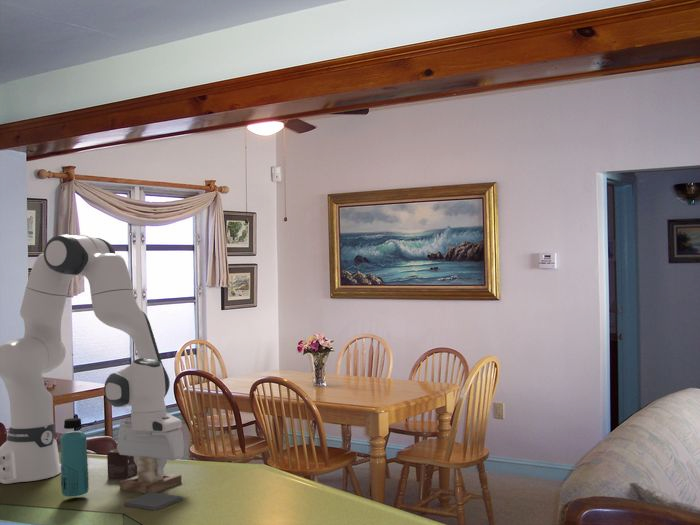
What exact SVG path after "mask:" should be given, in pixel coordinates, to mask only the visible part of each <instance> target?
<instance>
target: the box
mask: <svg viewBox="0 0 700 525" xmlns="http://www.w3.org/2000/svg"><path fill="white" fill-rule="evenodd" d="M106 454H107V455H106V457H107V459H106V460H107V462H106V463H107V479H119V480H122V479H124V480H126V479H129V478H132V477H135V476H136V475H138V467H137V466H136V464H135V462H134V456H128V455H120V454H119V452H118V450H117V447H116V448H113V449H111V450H109V451H107V453H106Z"/></svg>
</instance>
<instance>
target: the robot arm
mask: <svg viewBox="0 0 700 525" xmlns="http://www.w3.org/2000/svg"><path fill="white" fill-rule="evenodd" d="M76 276H83V277H85V278H86V279H87V282H88V285H89V290H90V298H91V300H90V301H91V305H92V310H93V313H94V316H95V317H96V318H97V319H98V320H99V321H100V322H101V323H102V324H104V325H106V326H108V327H110V328H114V329H117V330H119V331H122V332H124V333H126V334H127V335H128V336H129V337H130V338H131V340H132V341H133V343H134V346H135V347H134V348H135V350H136V354H137V357H138V358H136V359H135V360H133V361H131V363H130V365H128V366H127V367H125V368H124V369H120V370H118V371H115V372H112V373H110V374H109V375H108V377H107V378H106V379H105V381H104V388H103V390H104V396H105V397H104V398H105V400H106V401H107V402H108V404H109V405H111V406H112V407H115V408H124V407H125V408H126V407H131V409H130V410H131V411H130V414H131V416H130V417H131V419H128V418H126V419H123V420H122V421H121V422H120V423H119V425H118V426H119V431H118V435H117V447H116V448H117V450H118V452H119V454H120V455H128V456H134V462H135V464H136V466H137V468H138V459H137V457H138V456H141V457H150V458H155V459H157V463H159V465H158V467H157V468H156V469H155V475H157V476H161V475H163V474H164V473H165V471H164V469H165V467H166V464H167V462H168V461H177V460H178V459H182V458H183V456H184V454H185V444H184V443H185V442H184V435H183V431H182V430H181V429H180V428H182V427H183V421H182V420H181V419H180V418H178V417H176V416H174V415H173V414H171V413H169V412H167V406H166V403H165V398H166V395H167V394H168V392H169V390H170V385H171V384H170V378H169V375H168V373H167V370H166V368H165V367H164V364H163V361H162V359H161V356H160V352H159V349H158V346H157V345H158V344H157V341H156V339H155V335H154V332H153V329H152V326H151V323H150V320H149V318H148V317H147V314H146V313H145V312H144V311H143V310H141V308H140V307H139V304H138V303H137V301H136V297H135V295H134V290H133V284H132V279H131V275H130V272H129V268H128V266H127V263H126V261H125V259H124V258H123V256H121V255H120V254H118V253H116V251H115V248H114V247H113V245H112V244H111V243H110V242H108V241H107V240H105V239H102V238H101V237H93V236H90V235H89V236H88V235H83V234H82V235H76V234H75V235H71V234H68V233H66V234H59V235H56V236H54V237H53V236H52V237H51V238H50V239H49V240H48V241H47V242H46V244H45V246H44V249H43V252H42V253H40V254H39V255H38V256H37V257H36V259H35V262H34V264H32V268H31V271H30V273H29V276H28V279H27V283H26V286H25V290H24V295H23V297H22V303H21V306H20V309H19V314H20V317H21V318H22V320H23V323H24V334H23V337H22V338H16V339H11V340H9V341H6V342H4V343H2V344H1V345H0V379H2V381H3V383H4V386H5V389H6V392H7V394H8V399H9V409H10V427H9V428H5V429H4V431H6V432H4V434H7V436H6V441H5V442H4V443H3V444H2V445H1V446H0V483H1V484H5V485H8V484H14V483H24V482H26V483H27V482H33V481H34V482H35V481H41V480H45V479H49V478H53V477H55V476H57V475H59V474H61V462H60V455H59V449H58V442H57V440H56V439H55V436H56V430H57V428H56V423H55V422H54V403H53V402H54V400H53V399H54V398H53V395H52V393H51V392H50V391H48V389H47V387H46V385H45V381H44V379H43V374H47V373H49V372H52V371H53V370H55V369H56V368H58V367H59V366H61V365H62V363H64V361H65V359H66V347H65V345H64V343H63V341H62V331H61V330H62V319H63V314H64V309H65V305H66V301H67V297H68V294H69V288H70V285H71V281H72V279H73V278H74V277H76Z"/></svg>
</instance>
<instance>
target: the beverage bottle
mask: <svg viewBox="0 0 700 525" xmlns="http://www.w3.org/2000/svg"><path fill="white" fill-rule="evenodd" d="M63 423H64V424H63V428H64V430H65V429H67V430H72V431H67V432H64V433H63V434H62V435H61V436H60V437H59V442H60V464H61V473H60V474H61V476H60V484H61V485H60V487H61V494H62V495H63V497H68V498H69V497H77V496H82V495H86V494H87V493H88V492H89V487H90V485H89V479H90V477H89V474H90V473H89V463H88V449H87V448H88V447H87V434H86V433H84V431H82V430H73V429H79V428H82V426H83V425H82V419H81V418H79V417H71V418H66V419H65V420H64V422H63Z"/></svg>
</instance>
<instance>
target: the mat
mask: <svg viewBox="0 0 700 525" xmlns="http://www.w3.org/2000/svg"><path fill="white" fill-rule="evenodd" d="M182 500H183V499H182V496H180V495H176V494H175V495H174V494H166V493H159V492H156V493H153V492H150V493H144V494H142V495H140V496H136V497H135V498H132V499H129V500H127V501H124V503H123V505H124V507H131V508H137V509H143V510H150V511H158V510H160V509H163V508H166V507H168V506H170V505H173V504H175V503H178V502H179V501H182Z"/></svg>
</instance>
